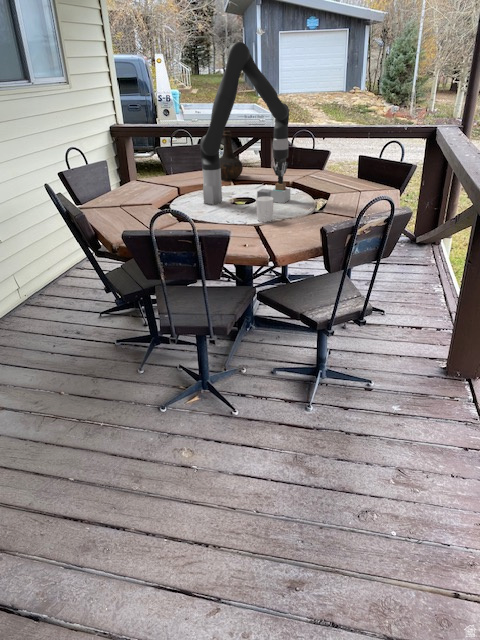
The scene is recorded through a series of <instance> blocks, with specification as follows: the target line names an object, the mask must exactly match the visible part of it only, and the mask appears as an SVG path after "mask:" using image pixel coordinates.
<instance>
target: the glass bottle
mask: <svg viewBox="0 0 480 640" xmlns="http://www.w3.org/2000/svg"><path fill="white" fill-rule="evenodd" d="M231 136H233V134H232V132H231V130H224V132H223V149H222V150H223V151H222V152H223V153H222V156H221V157H219V159H220V166H221V180H225V181H226V180H227V181H229V180H231V181H232V180H235V179H238V178H239V177H240V176H241V175H242V173H243V169H244V167H243V163H242V161H241V160H240V159H238V158H237V157H236V156H235V155H234V151H233V144H232V137H231Z"/></svg>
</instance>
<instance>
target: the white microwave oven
mask: <svg viewBox="0 0 480 640" xmlns="http://www.w3.org/2000/svg"><path fill="white" fill-rule="evenodd" d="M270 190H271V197H272V198H273V203H275V202H278V203H277V204H286V203H288V202H289V201H291V188H289V187H286V190H284V191H282V190H275V187H273V188H272V189H270ZM288 200H289V201H288ZM287 201H288V202H287ZM285 202H286V203H285Z"/></svg>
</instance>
